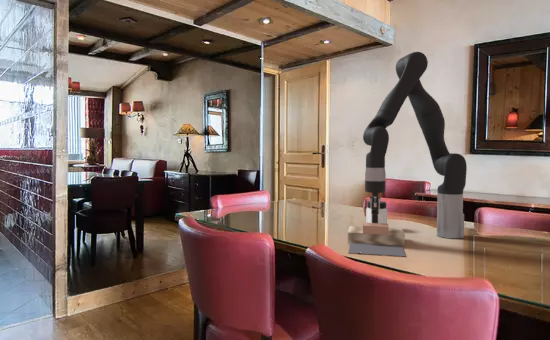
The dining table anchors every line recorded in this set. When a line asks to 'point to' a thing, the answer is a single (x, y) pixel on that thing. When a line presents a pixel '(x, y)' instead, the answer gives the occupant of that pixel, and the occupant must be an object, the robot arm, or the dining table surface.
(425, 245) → the dining table surface
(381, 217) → the jar
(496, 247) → the dining table surface
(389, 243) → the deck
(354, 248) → the mat
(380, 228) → the brown rectangular block
